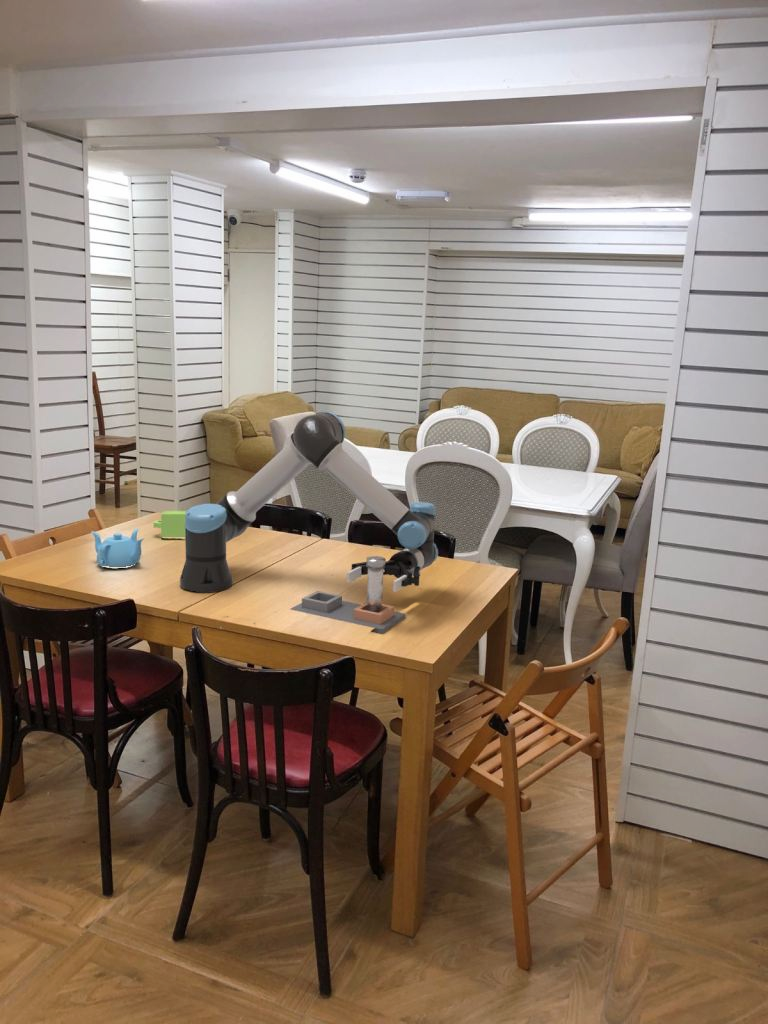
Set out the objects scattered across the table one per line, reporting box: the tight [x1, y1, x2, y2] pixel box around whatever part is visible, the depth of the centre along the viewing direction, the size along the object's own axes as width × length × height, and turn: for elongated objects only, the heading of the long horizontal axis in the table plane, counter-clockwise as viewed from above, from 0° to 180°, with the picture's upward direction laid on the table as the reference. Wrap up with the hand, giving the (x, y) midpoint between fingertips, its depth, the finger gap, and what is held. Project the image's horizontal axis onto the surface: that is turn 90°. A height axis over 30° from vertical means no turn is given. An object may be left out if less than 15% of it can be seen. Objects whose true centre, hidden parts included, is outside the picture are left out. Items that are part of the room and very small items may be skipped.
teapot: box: [91, 528, 144, 567], centre depth 246 cm, size 15×15×10 cm
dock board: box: [290, 590, 406, 635], centre depth 210 cm, size 28×14×4 cm, turn 63°
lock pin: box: [365, 555, 387, 613], centre depth 205 cm, size 5×5×16 cm
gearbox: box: [153, 510, 188, 538], centre depth 284 cm, size 18×10×10 cm, turn 102°
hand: (370, 581), depth 202 cm, fingers open, 13 cm apart
